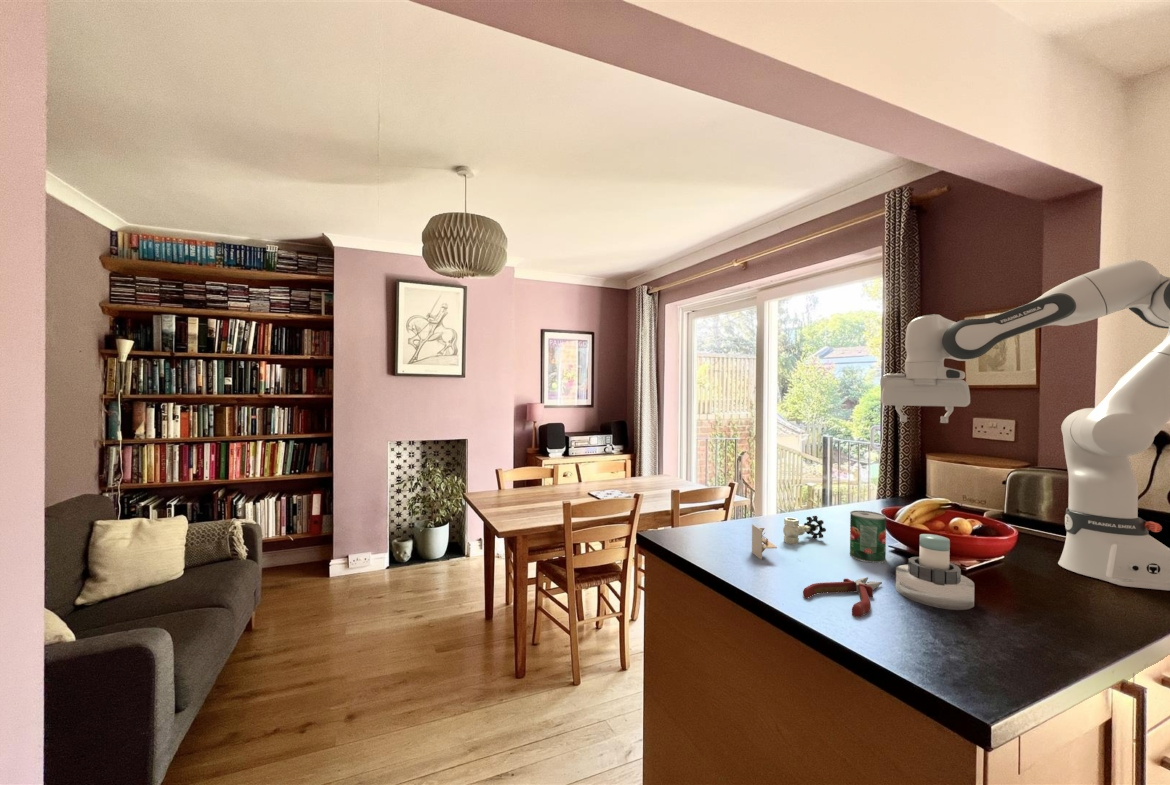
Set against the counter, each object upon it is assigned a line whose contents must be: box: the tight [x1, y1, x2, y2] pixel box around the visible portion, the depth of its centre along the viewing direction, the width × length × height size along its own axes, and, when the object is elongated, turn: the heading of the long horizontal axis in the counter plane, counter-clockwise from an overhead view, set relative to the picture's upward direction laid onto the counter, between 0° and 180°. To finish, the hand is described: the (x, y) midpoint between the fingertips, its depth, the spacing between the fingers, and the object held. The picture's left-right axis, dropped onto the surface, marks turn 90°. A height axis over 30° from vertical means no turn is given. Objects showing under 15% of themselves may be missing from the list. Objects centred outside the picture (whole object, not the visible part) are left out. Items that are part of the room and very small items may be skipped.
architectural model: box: [751, 524, 778, 561], centre depth 119 cm, size 3×7×7 cm, turn 4°
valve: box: [782, 515, 827, 545], centre depth 132 cm, size 7×7×12 cm
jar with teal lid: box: [918, 533, 951, 570], centre depth 97 cm, size 5×5×8 cm
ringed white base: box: [895, 556, 975, 611], centre depth 98 cm, size 13×16×7 cm
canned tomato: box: [849, 510, 887, 564], centre depth 119 cm, size 8×8×11 cm
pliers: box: [802, 576, 883, 618], centre depth 97 cm, size 12×20×3 cm, turn 126°
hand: (923, 422), depth 131 cm, fingers open, 8 cm apart
